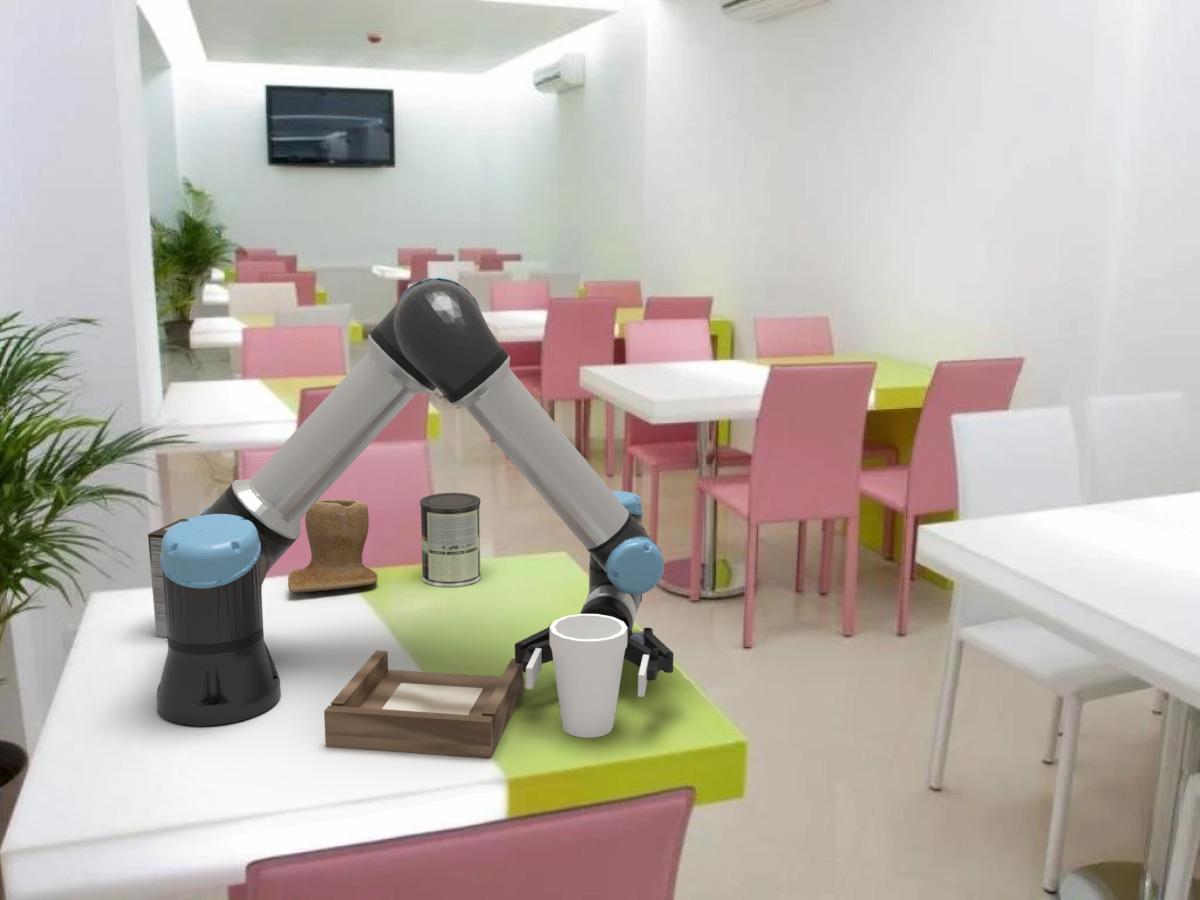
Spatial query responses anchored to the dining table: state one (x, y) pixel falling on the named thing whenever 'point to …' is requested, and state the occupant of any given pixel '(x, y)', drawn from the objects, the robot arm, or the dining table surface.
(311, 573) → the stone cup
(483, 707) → the tray
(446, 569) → the coffee can
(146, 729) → the dining table surface
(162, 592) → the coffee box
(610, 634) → the foam cup
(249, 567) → the robot arm
